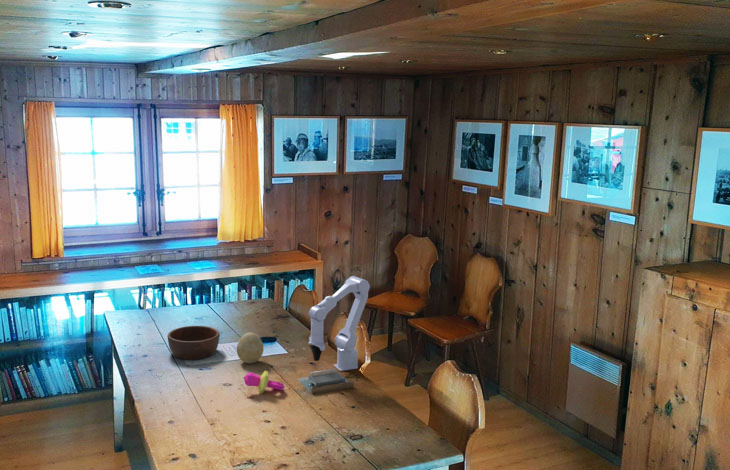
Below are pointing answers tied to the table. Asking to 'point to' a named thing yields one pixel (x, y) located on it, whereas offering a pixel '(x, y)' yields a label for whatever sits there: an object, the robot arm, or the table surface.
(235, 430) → the table surface
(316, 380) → the cabinet door with handle
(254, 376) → the toy
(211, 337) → the wooden bowl
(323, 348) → the robot arm
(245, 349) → the fossilized egg
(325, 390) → the dock bay
